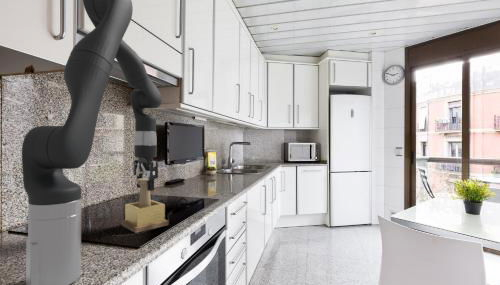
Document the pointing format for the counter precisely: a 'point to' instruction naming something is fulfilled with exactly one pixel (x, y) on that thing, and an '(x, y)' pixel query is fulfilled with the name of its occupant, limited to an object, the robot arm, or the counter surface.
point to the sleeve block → (144, 216)
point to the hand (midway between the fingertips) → (145, 189)
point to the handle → (144, 193)
